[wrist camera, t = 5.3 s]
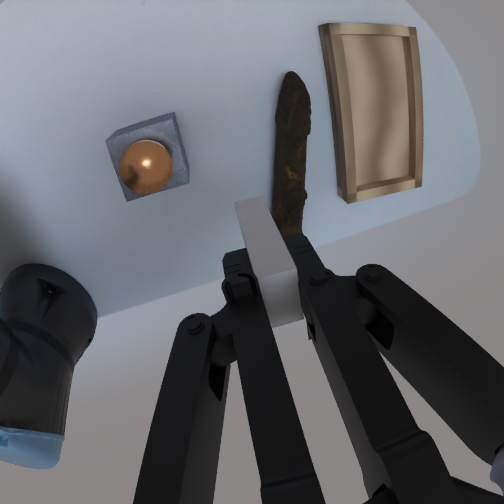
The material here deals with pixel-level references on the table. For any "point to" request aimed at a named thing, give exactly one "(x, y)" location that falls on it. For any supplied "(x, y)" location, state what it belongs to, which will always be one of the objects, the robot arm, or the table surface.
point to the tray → (374, 107)
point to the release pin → (145, 166)
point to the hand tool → (291, 155)
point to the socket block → (152, 130)
